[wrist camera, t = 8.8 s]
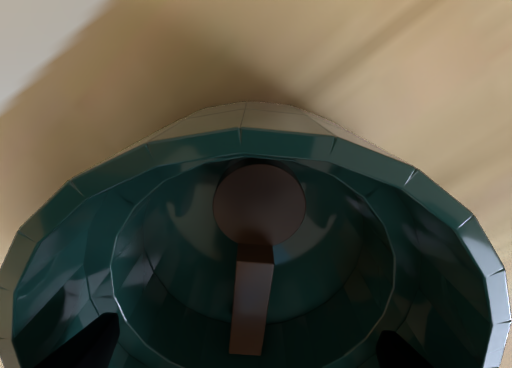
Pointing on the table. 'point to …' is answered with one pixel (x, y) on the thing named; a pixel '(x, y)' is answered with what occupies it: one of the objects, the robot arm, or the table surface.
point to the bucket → (285, 254)
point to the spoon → (256, 238)
